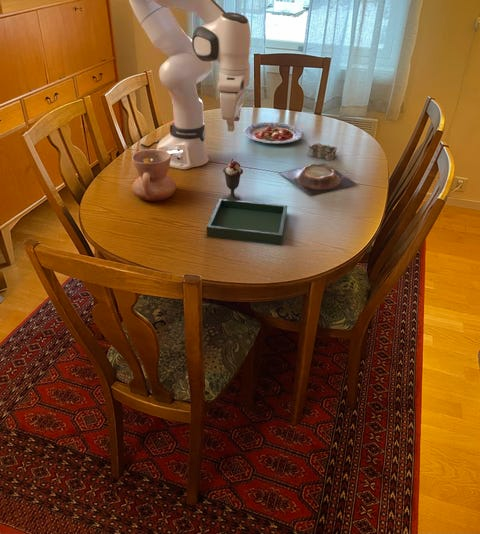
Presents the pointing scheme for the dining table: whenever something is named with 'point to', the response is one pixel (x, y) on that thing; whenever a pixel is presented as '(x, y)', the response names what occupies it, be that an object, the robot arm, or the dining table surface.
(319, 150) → the egg carton
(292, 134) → the ceramic plate
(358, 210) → the dining table surface
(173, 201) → the dining table surface
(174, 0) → the robot arm
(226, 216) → the serving tray
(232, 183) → the sundae
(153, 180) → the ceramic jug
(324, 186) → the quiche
